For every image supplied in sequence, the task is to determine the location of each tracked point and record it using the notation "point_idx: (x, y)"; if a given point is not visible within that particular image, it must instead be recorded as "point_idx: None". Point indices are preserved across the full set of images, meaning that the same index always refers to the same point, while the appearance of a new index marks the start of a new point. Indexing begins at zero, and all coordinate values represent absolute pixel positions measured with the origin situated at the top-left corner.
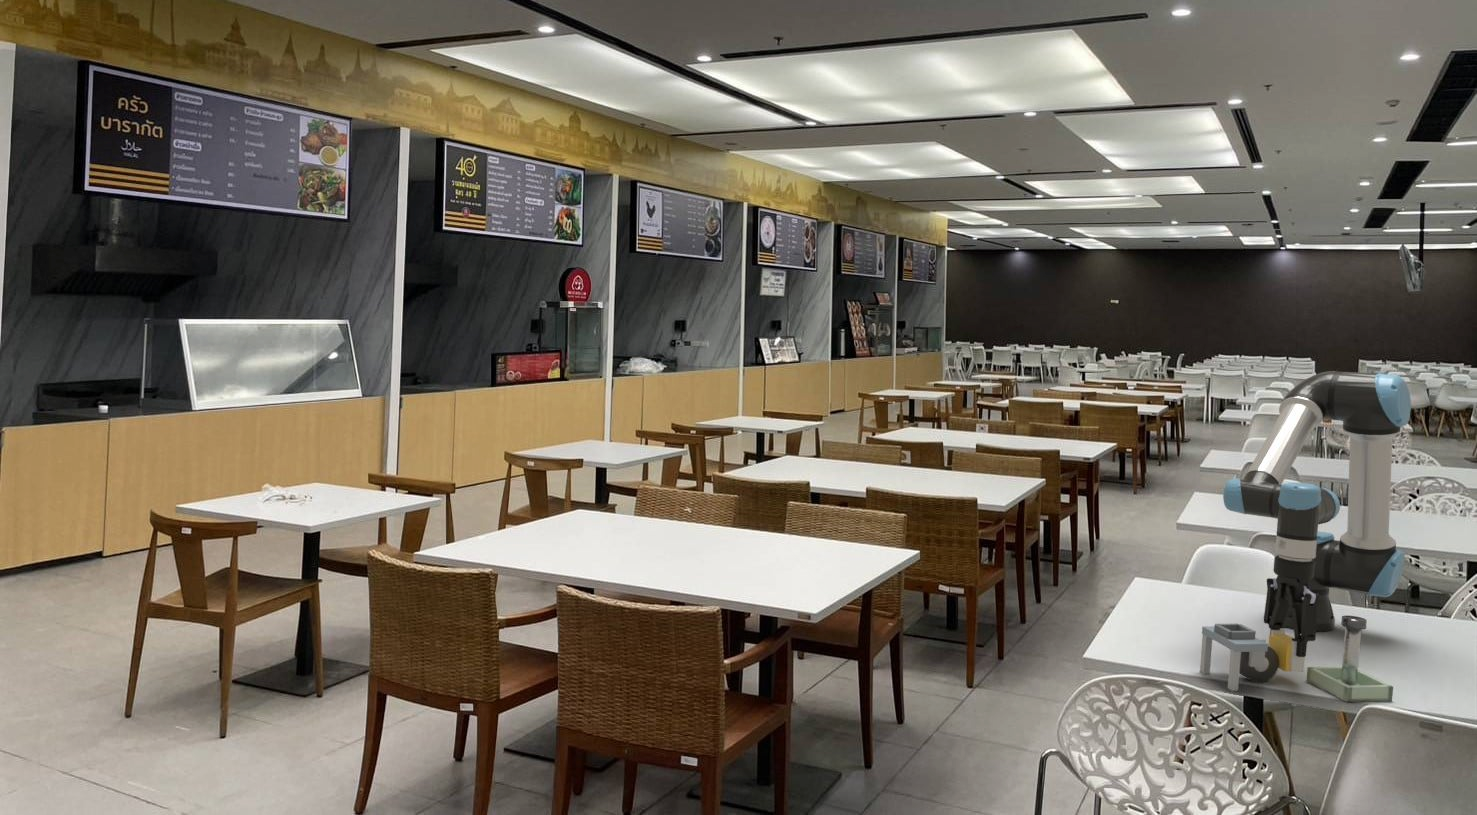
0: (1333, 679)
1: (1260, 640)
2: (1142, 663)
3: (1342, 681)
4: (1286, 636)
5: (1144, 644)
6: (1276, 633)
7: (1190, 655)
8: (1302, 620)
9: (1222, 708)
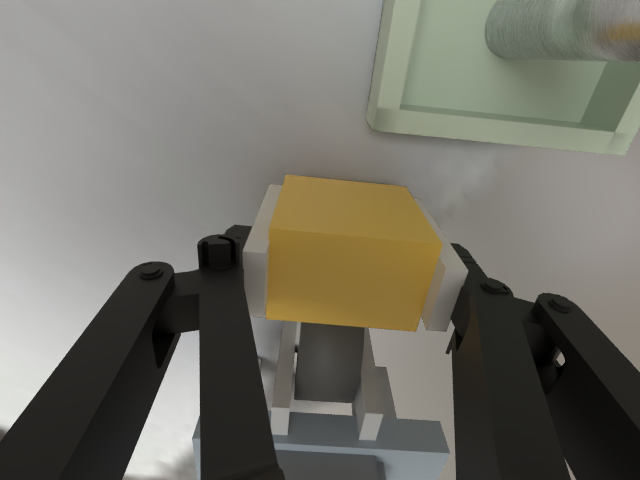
0: (533, 139)
1: (404, 453)
2: (177, 434)
3: (519, 58)
4: (302, 254)
5: (7, 369)
6: (267, 292)
7: (91, 314)
8: (582, 471)
9: None
